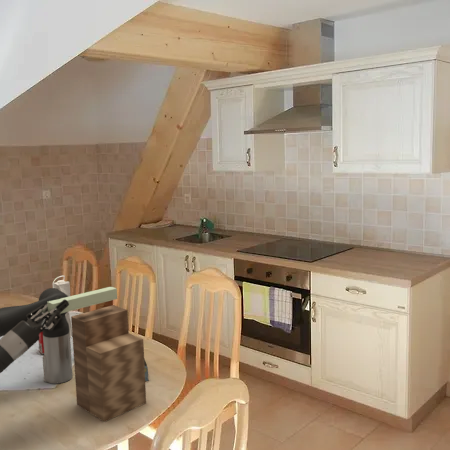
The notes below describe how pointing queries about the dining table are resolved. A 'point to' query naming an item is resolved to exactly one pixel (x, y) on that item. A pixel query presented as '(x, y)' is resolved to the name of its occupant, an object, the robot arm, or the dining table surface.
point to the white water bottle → (65, 289)
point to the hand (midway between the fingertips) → (63, 300)
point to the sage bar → (85, 299)
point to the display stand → (107, 363)
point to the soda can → (41, 343)
